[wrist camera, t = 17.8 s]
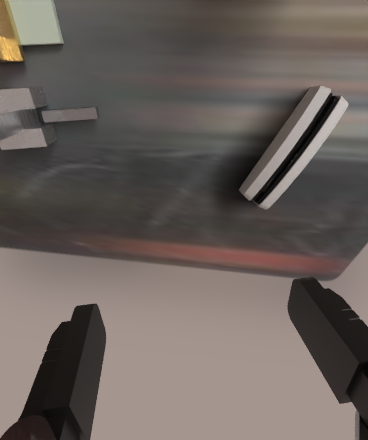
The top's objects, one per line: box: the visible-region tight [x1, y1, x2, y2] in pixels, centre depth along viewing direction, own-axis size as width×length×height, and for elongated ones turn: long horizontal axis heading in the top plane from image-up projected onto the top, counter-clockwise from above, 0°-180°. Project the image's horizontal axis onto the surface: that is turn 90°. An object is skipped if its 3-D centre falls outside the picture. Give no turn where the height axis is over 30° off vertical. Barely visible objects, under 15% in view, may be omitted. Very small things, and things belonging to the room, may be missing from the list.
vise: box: [0, 87, 99, 150], centre depth 26 cm, size 6×11×12 cm, turn 93°
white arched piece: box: [239, 86, 348, 209], centre depth 33 cm, size 17×5×10 cm, turn 150°
